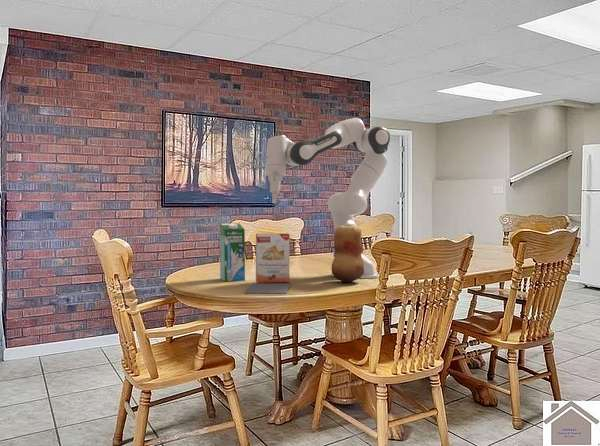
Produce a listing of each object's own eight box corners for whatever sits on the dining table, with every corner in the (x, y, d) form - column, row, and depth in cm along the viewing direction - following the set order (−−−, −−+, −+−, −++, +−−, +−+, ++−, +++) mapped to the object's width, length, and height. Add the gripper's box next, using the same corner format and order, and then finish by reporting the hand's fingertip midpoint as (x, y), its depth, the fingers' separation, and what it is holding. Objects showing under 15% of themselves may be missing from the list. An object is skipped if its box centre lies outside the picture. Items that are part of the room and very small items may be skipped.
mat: (290, 284, 208) (290, 283, 208) (285, 293, 187) (285, 292, 187) (252, 284, 209) (252, 283, 209) (243, 293, 188) (243, 292, 188)
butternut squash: (332, 285, 206) (332, 225, 205) (330, 279, 219) (330, 223, 218) (365, 285, 206) (366, 224, 205) (362, 279, 219) (362, 223, 218)
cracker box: (257, 283, 207) (256, 233, 208) (255, 282, 213) (255, 233, 214) (290, 282, 210) (289, 233, 211) (287, 281, 216) (287, 233, 217)
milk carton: (224, 281, 215) (224, 224, 214) (220, 278, 224) (219, 223, 222) (245, 280, 219) (244, 223, 217) (239, 277, 227) (239, 222, 226)
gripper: (282, 170, 207) (281, 203, 208) (282, 173, 228) (281, 203, 228) (267, 169, 207) (266, 202, 208) (269, 173, 228) (267, 203, 228)
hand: (274, 203), depth 218 cm, fingers open, 8 cm apart
